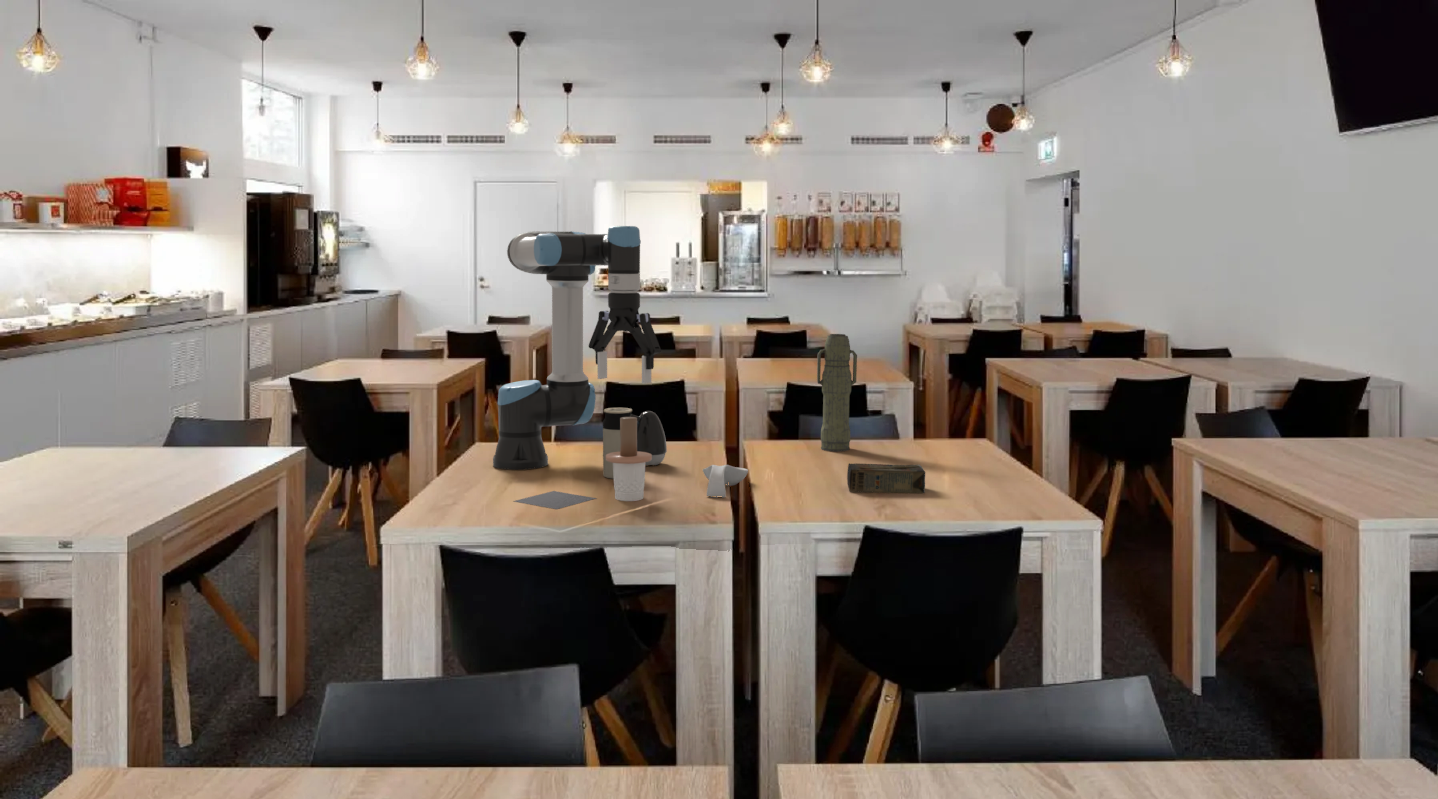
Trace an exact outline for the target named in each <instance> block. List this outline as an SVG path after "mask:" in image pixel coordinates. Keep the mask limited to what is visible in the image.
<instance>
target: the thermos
mask: <svg viewBox="0 0 1438 799" xmlns="http://www.w3.org/2000/svg"><path fill="white" fill-rule="evenodd" d="M822 354H824V366H823V367H824V368H823V370H822V371H823V372H822V373H821V357H822V356H821V355H822ZM851 354H852V356H853V361H852V372H851V366H850V361H851ZM816 358H817V360H816V363H817V365H816V373H817V374H816V378H817V379H816V380H817V381H816V382H817V384H819V385H821V393H822V395H823V397H822V402H823V404H822V425H821V429H820V441H821V447H820V449H821V450H822V451H825V452H837V453H838V452H847V451H850V443H851V428H850V395H851V393H852V386H853V385H855V384H856V383H857V368H858V367H857V366H858V364H857V363H858V354H857V353H856V352H855V350H854V349H853V350H852V349H851V344H850V339H849V336H848V335H846V334H844V333H831V334H829V335H827V337H826V340H825V343H824V348H822V349H820V350H819V352H817V357H816Z"/></svg>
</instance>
